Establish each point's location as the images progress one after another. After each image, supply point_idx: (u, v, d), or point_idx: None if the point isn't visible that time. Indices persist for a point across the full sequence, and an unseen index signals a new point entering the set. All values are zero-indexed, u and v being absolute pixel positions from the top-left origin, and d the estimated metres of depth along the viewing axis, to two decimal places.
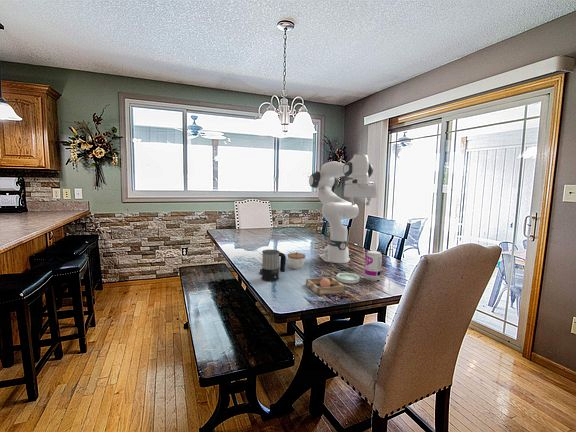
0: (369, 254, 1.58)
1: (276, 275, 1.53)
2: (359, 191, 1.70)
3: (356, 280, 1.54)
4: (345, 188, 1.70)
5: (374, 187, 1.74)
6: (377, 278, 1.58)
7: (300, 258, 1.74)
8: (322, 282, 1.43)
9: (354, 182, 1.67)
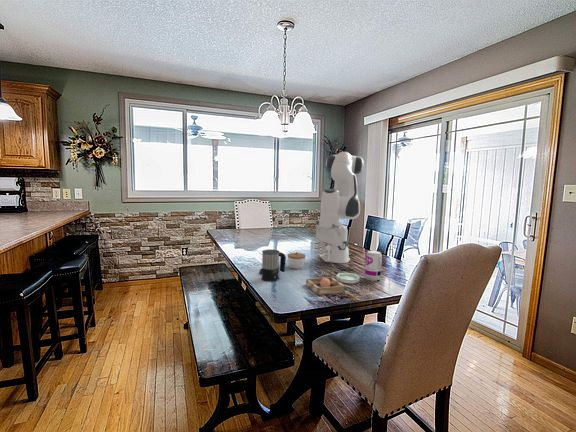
0: (369, 254, 1.58)
1: (276, 275, 1.53)
2: (323, 234, 1.43)
3: (356, 280, 1.54)
4: None
5: (334, 232, 1.33)
6: (377, 278, 1.58)
7: (300, 258, 1.74)
8: (322, 282, 1.43)
9: (317, 223, 1.46)
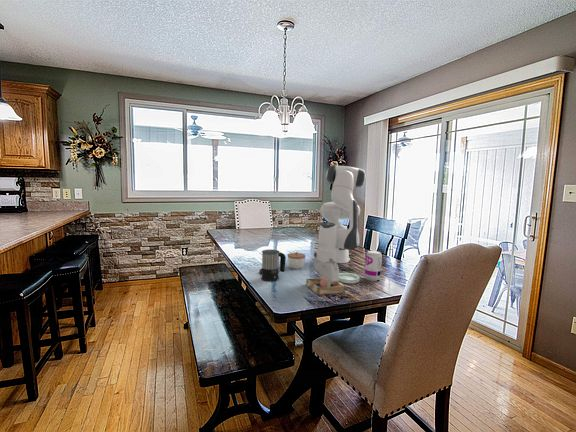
0: (369, 254, 1.58)
1: (276, 275, 1.53)
2: (320, 267, 1.45)
3: (356, 280, 1.54)
4: None
5: (330, 268, 1.35)
6: (377, 278, 1.58)
7: (300, 258, 1.74)
8: (322, 282, 1.43)
9: (315, 256, 1.48)
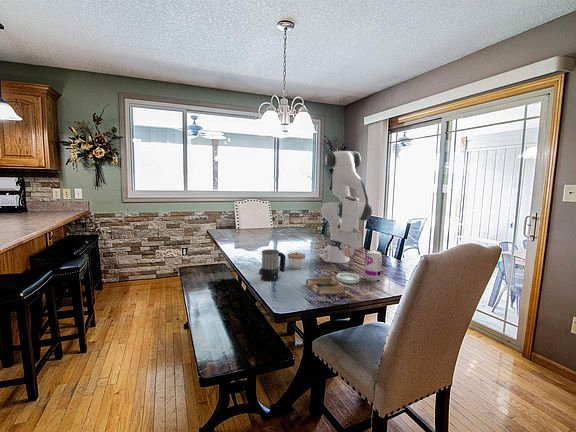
0: (369, 254, 1.58)
1: (276, 275, 1.54)
2: (344, 237, 1.58)
3: (356, 280, 1.54)
4: None
5: (354, 237, 1.48)
6: (377, 278, 1.58)
7: (300, 258, 1.74)
8: (345, 251, 1.56)
9: (338, 227, 1.61)
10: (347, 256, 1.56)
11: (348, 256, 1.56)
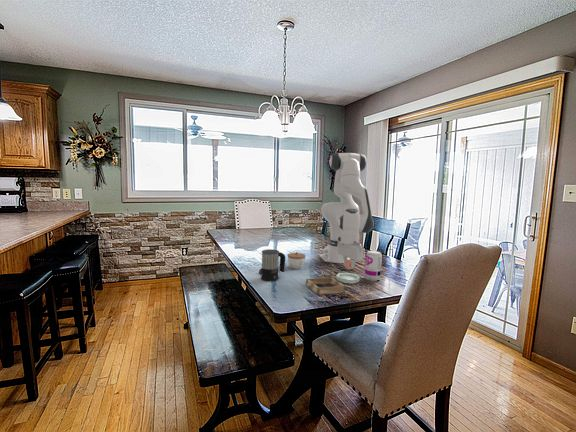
0: (369, 254, 1.58)
1: (275, 275, 1.54)
2: (344, 250, 1.59)
3: (356, 280, 1.54)
4: None
5: (355, 249, 1.49)
6: (377, 278, 1.58)
7: (300, 258, 1.74)
8: (346, 263, 1.56)
9: (339, 240, 1.62)
10: (348, 268, 1.57)
11: (349, 268, 1.56)
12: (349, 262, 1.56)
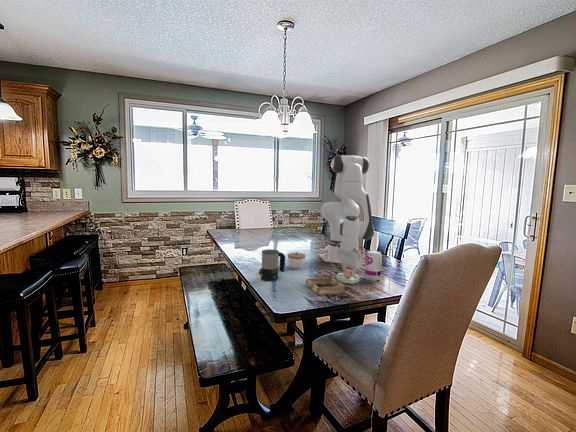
0: (369, 254, 1.58)
1: (275, 275, 1.54)
2: (344, 256, 1.59)
3: (356, 280, 1.54)
4: None
5: (354, 256, 1.49)
6: (377, 278, 1.58)
7: (300, 258, 1.74)
8: (345, 272, 1.57)
9: (338, 246, 1.62)
10: None
11: (348, 278, 1.57)
12: (348, 271, 1.57)
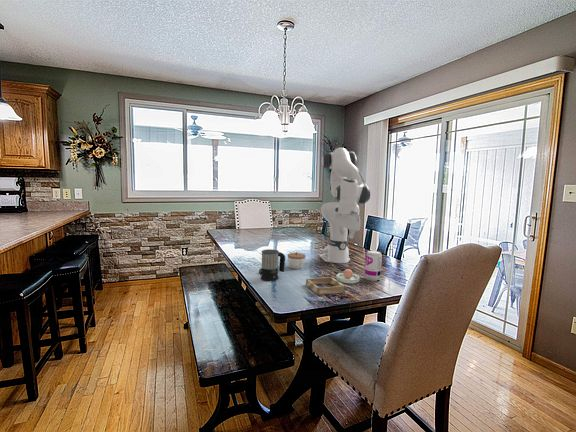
0: (369, 254, 1.58)
1: (275, 275, 1.54)
2: (342, 220, 1.56)
3: (356, 280, 1.54)
4: None
5: (353, 218, 1.46)
6: (377, 278, 1.58)
7: (300, 258, 1.74)
8: (345, 272, 1.57)
9: (336, 210, 1.58)
10: (347, 277, 1.58)
11: (348, 277, 1.57)
12: (348, 271, 1.57)
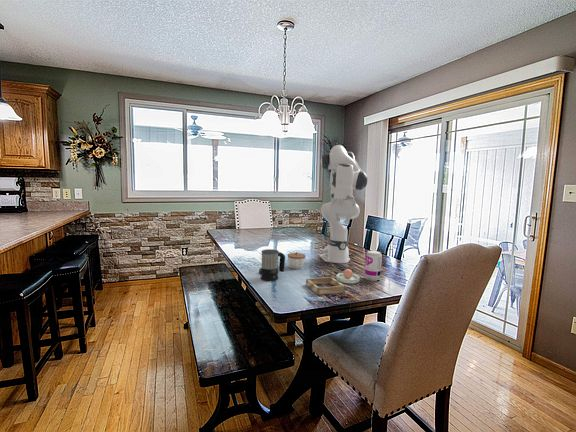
0: (369, 254, 1.58)
1: (275, 275, 1.54)
2: (338, 206, 1.53)
3: (356, 280, 1.54)
4: None
5: (348, 203, 1.44)
6: (377, 278, 1.58)
7: (300, 258, 1.74)
8: (345, 272, 1.58)
9: (332, 196, 1.56)
10: (347, 277, 1.58)
11: (348, 277, 1.57)
12: (348, 271, 1.57)
